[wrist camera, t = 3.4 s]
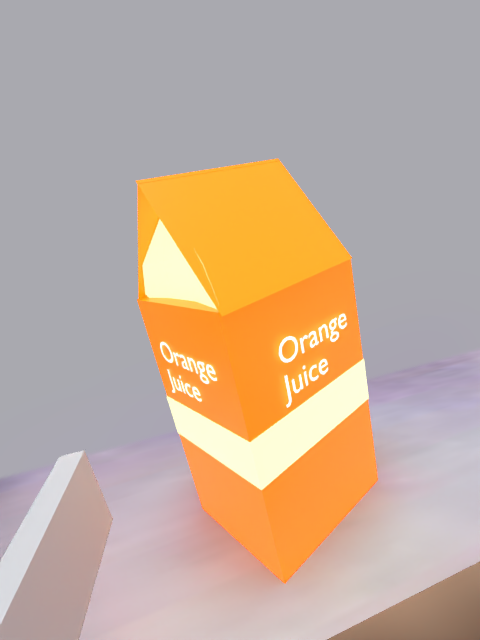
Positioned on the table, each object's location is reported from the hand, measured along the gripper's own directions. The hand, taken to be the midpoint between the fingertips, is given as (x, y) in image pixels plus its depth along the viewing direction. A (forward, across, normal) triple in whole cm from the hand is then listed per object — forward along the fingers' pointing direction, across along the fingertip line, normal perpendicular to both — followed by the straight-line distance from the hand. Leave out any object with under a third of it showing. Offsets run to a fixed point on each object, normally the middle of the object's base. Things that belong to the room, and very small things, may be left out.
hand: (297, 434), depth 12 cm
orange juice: (+9, 0, -11) cm, 14 cm away
